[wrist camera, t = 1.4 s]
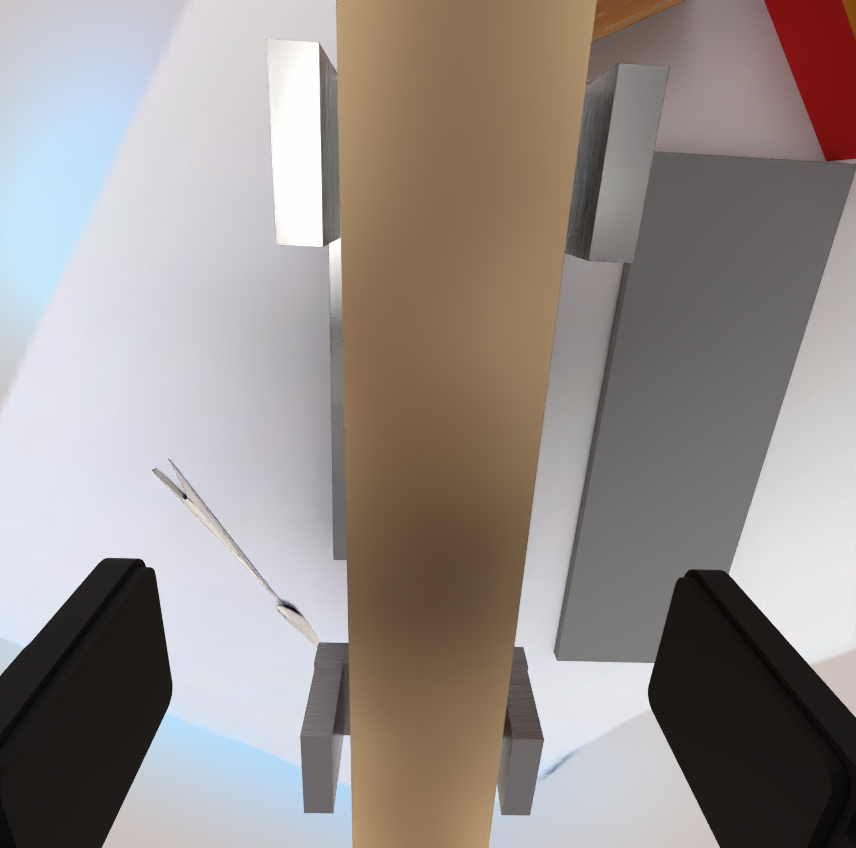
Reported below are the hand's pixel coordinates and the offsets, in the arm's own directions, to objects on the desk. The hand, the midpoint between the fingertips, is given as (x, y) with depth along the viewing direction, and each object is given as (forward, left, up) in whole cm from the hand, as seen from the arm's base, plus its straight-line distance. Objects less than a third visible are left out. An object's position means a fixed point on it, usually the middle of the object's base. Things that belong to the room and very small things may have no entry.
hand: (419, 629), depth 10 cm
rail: (0, 0, -5) cm, 5 cm away
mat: (-12, +3, -16) cm, 20 cm away
